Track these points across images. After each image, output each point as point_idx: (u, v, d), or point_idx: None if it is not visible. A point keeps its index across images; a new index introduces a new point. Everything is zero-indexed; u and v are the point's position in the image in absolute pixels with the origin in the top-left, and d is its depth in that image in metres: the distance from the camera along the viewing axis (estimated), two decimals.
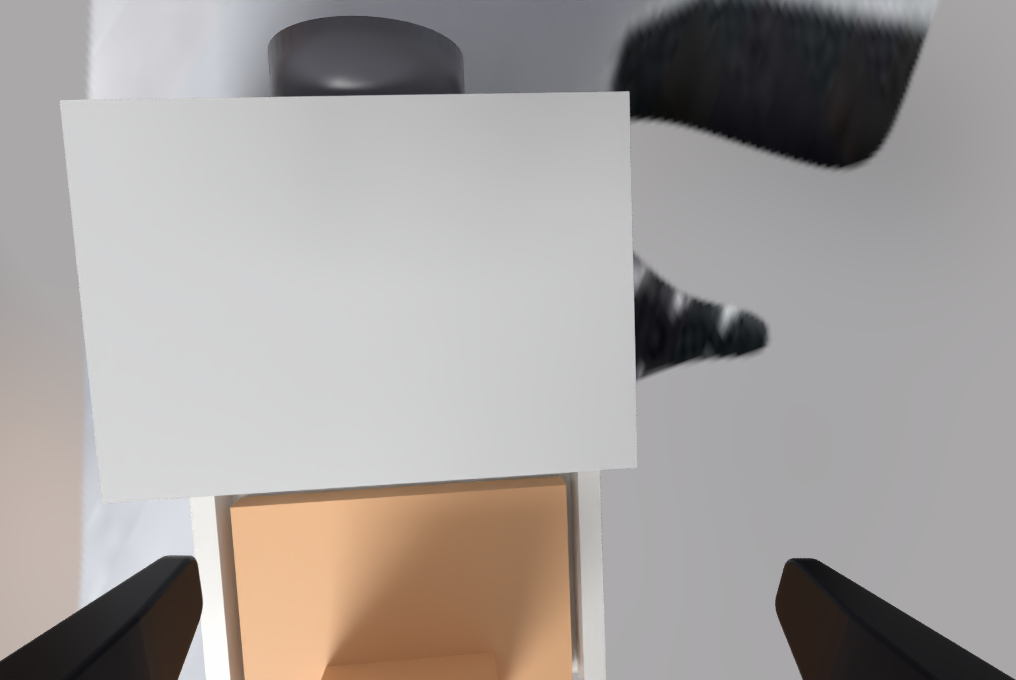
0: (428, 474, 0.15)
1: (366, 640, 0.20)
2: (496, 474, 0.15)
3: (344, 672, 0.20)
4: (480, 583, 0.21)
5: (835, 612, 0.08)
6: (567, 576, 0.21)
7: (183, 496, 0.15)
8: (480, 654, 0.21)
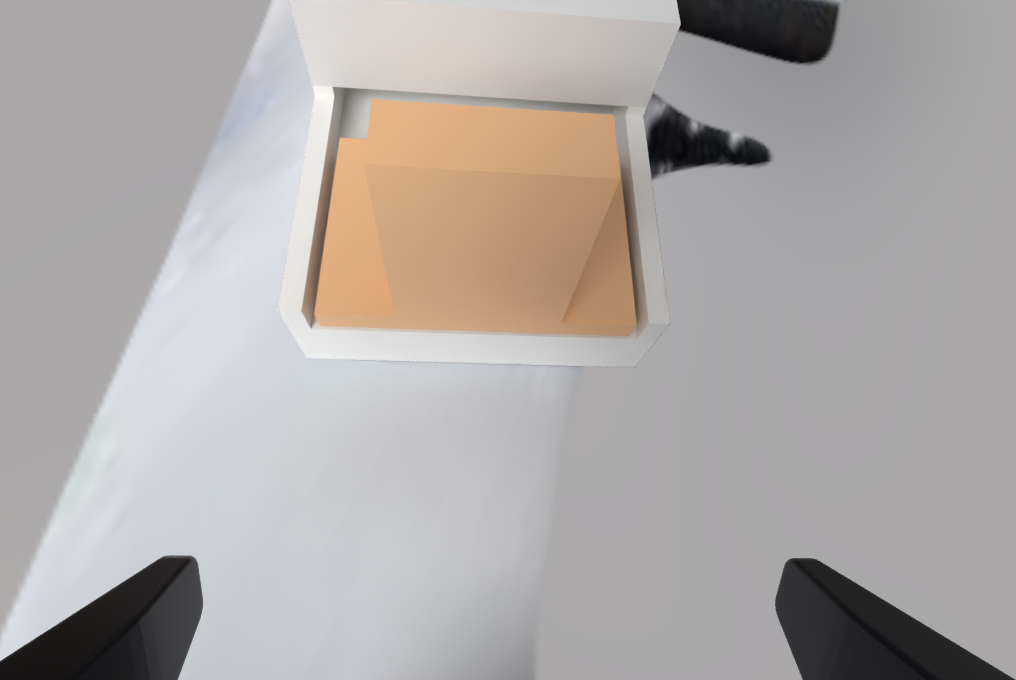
0: (525, 8, 0.21)
1: None
2: (576, 13, 0.21)
3: None
4: None
5: (835, 612, 0.08)
6: (624, 221, 0.23)
7: (344, 0, 0.20)
8: None
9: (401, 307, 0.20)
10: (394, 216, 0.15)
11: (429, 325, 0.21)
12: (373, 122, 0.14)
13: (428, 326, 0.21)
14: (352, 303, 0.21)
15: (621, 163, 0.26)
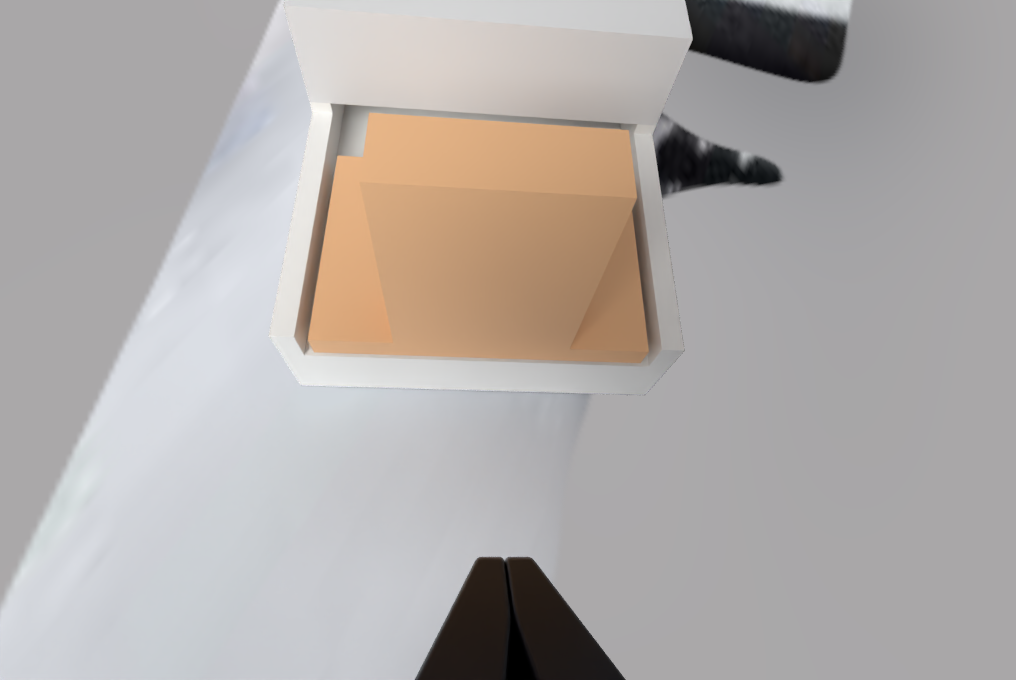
0: (531, 22, 0.20)
1: None
2: (584, 27, 0.20)
3: None
4: None
5: (511, 613, 0.07)
6: (634, 242, 0.22)
7: (343, 13, 0.19)
8: None
9: (400, 333, 0.19)
10: (392, 238, 0.14)
11: (429, 351, 0.20)
12: (370, 137, 0.13)
13: (428, 353, 0.20)
14: (348, 328, 0.19)
15: None
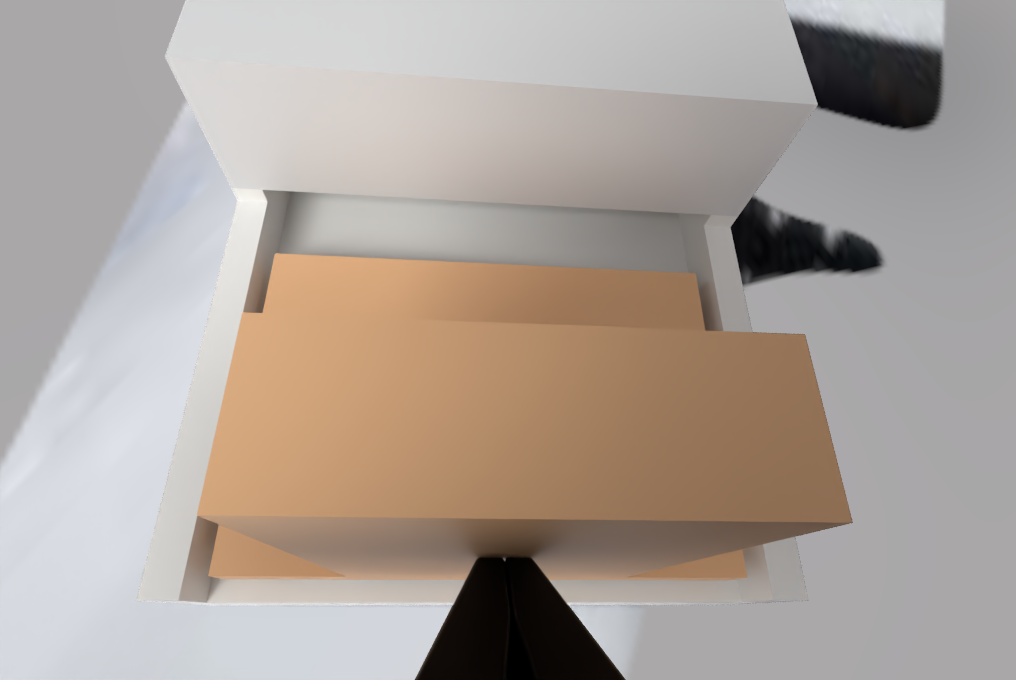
0: (566, 80, 0.13)
1: None
2: (648, 88, 0.13)
3: None
4: None
5: (511, 613, 0.07)
6: None
7: (264, 68, 0.12)
8: None
9: (354, 574, 0.12)
10: (307, 543, 0.07)
11: (405, 578, 0.13)
12: (239, 379, 0.06)
13: (403, 579, 0.13)
14: (275, 552, 0.12)
15: None
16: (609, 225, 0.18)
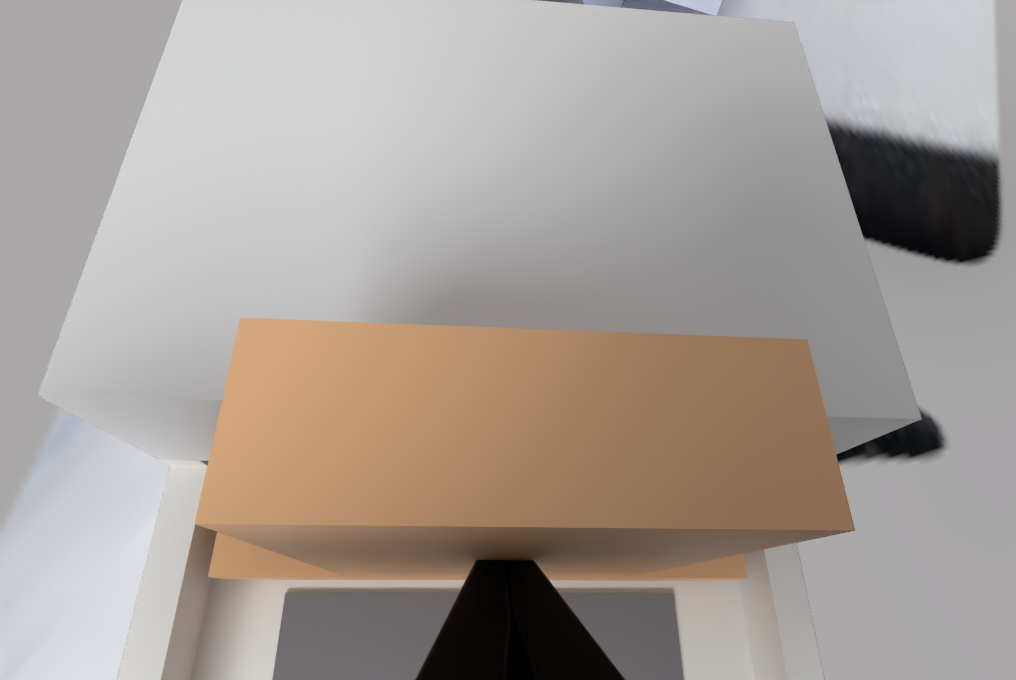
0: None
1: None
2: None
3: None
4: None
5: (511, 613, 0.07)
6: None
7: (178, 401, 0.09)
8: None
9: (354, 575, 0.12)
10: (305, 547, 0.07)
11: (405, 579, 0.13)
12: (237, 385, 0.06)
13: (403, 579, 0.13)
14: (275, 553, 0.12)
15: None
16: None
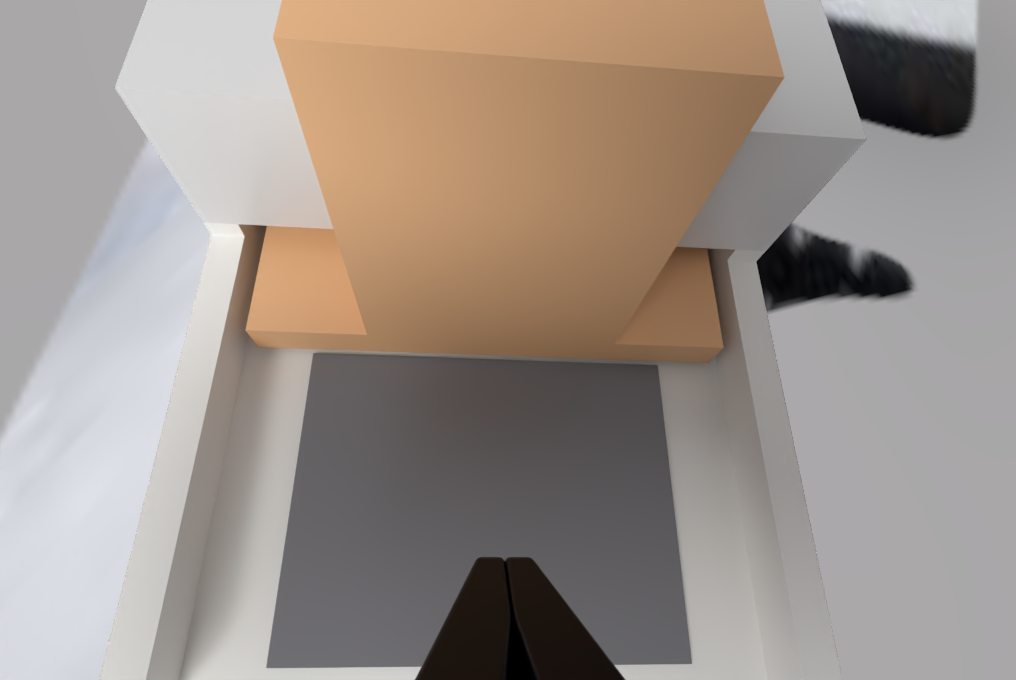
0: None
1: None
2: None
3: None
4: None
5: (511, 613, 0.07)
6: None
7: (231, 100, 0.10)
8: None
9: (375, 321, 0.13)
10: (347, 160, 0.08)
11: (419, 346, 0.14)
12: None
13: (417, 348, 0.15)
14: (304, 314, 0.14)
15: None
16: None
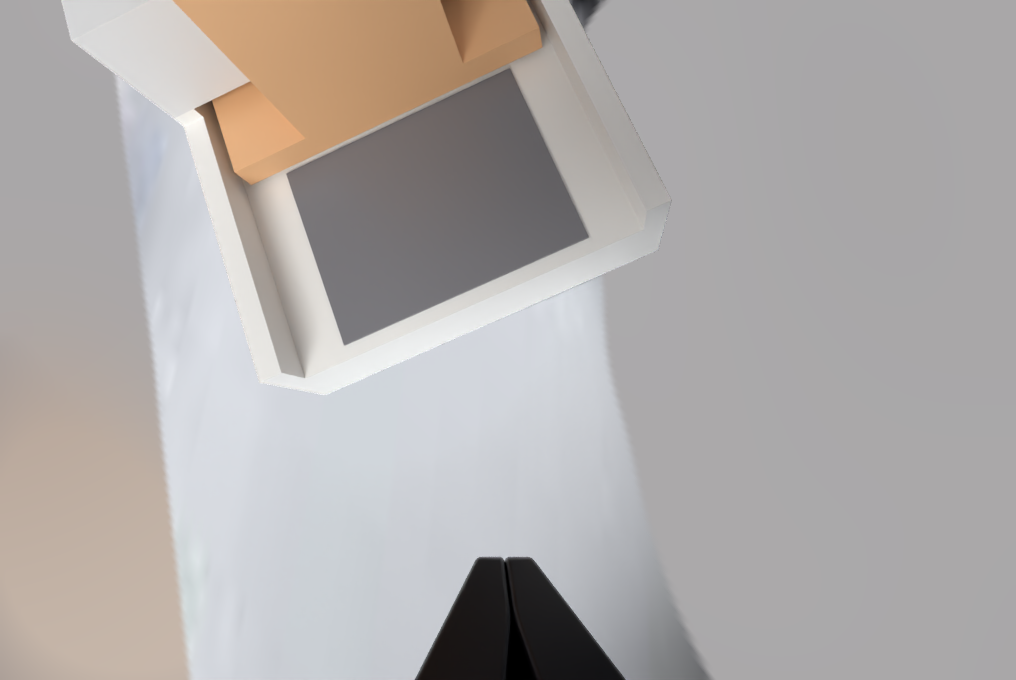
0: None
1: None
2: None
3: None
4: None
5: (511, 613, 0.07)
6: None
7: (134, 13, 0.16)
8: None
9: (302, 123, 0.19)
10: (200, 0, 0.14)
11: (344, 133, 0.20)
12: None
13: (344, 135, 0.21)
14: (263, 146, 0.20)
15: (543, 23, 0.20)
16: None
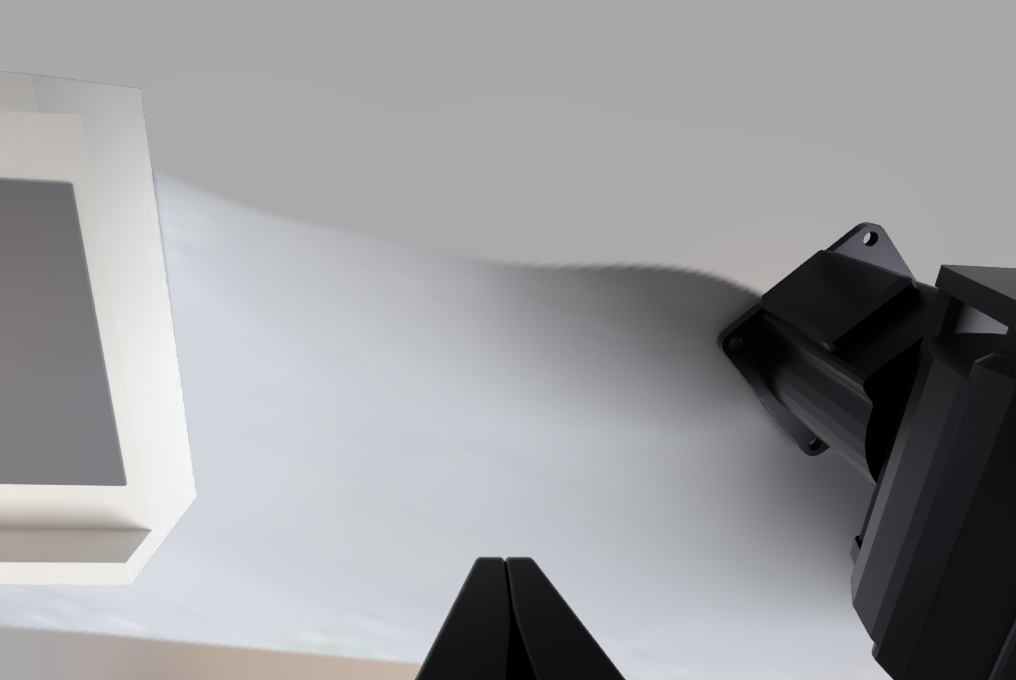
0: None
1: None
2: None
3: None
4: None
5: (511, 613, 0.07)
6: None
7: None
8: None
9: None
10: None
11: None
12: None
13: None
14: None
15: None
16: None
